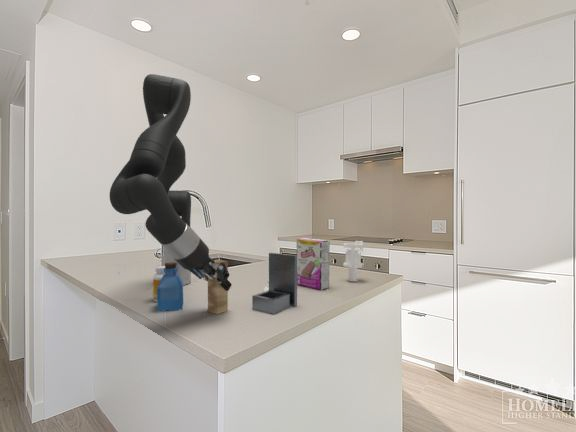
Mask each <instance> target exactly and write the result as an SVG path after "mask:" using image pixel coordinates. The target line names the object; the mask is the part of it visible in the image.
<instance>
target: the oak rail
mask: <svg viewBox="0 0 576 432" xmlns="http://www.w3.org/2000/svg"><path fill="white" fill-rule="evenodd" d="M213 260H214V259H213ZM214 262H215V263H216V264H218V265H220V263H224V264H225V266H226V268H227V270H228V269H229V268H228V265H229V261H228V260H222V259H215V260H214ZM214 271H215V270H214ZM228 271H229V270H228ZM213 273H214V272H213ZM213 273H212V274H213ZM212 274H211V275H212ZM217 278H218V279H219V277H218V275H217ZM228 279H229V278H228ZM228 279H227V280H228ZM228 281H229V280H228ZM228 294H229V291H225V290H224V289H223V287H222V286H221V285H220V284H219V283H218V282H216V281H215V280H214V279H210V278H209V277H208V281H207V313H208V312H209V313H211V314H216V315H220V314H222V313H224V312H227V311H228V310H229V308H228V307H229V306H228V305H229V303H228V301H229V299H228V298H229V297H228Z"/></svg>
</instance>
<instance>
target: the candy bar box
mask: <svg viewBox="0 0 576 432" xmlns="http://www.w3.org/2000/svg"><path fill="white" fill-rule="evenodd" d="M296 255H297V286H303V287H306V288H309V289H315V290H318V291H324V290H326V289H329V288H330V240H328V239H321V238H320V239H318V238H309V237H301V238H297V239H296Z"/></svg>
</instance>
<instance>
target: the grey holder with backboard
mask: <svg viewBox="0 0 576 432" xmlns="http://www.w3.org/2000/svg"><path fill="white" fill-rule="evenodd" d="M268 278H269V284H268V285H269V290H268V291H265V292H264V291H262V292H260V293H257V294H253V295H252V297H251V298H252V300H251V301H252V303H251V304H252V305H251V306H252V307H251V308H252V310H254V311H259V312H263V313H268V314H272V315H275V314H278V313H279V312H282V311H284V310H286V309H289V308H290V307H294V308H295V307H297V306H298V285H297V254H289V253H288V254H287V253H277V252H269V253H268Z"/></svg>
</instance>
